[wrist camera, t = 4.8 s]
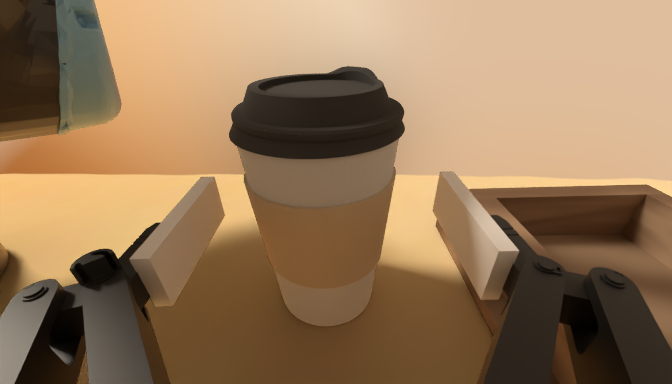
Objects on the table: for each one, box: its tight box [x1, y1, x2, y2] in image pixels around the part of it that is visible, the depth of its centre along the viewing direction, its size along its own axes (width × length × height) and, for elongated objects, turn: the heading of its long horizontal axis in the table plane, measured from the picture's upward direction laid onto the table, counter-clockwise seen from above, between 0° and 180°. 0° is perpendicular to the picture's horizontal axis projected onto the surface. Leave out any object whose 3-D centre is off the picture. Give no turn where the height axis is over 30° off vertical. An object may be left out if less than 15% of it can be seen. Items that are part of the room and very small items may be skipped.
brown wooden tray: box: [436, 185, 672, 384], centre depth 19 cm, size 16×18×5 cm
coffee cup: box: [229, 66, 405, 326], centre depth 17 cm, size 9×9×15 cm
